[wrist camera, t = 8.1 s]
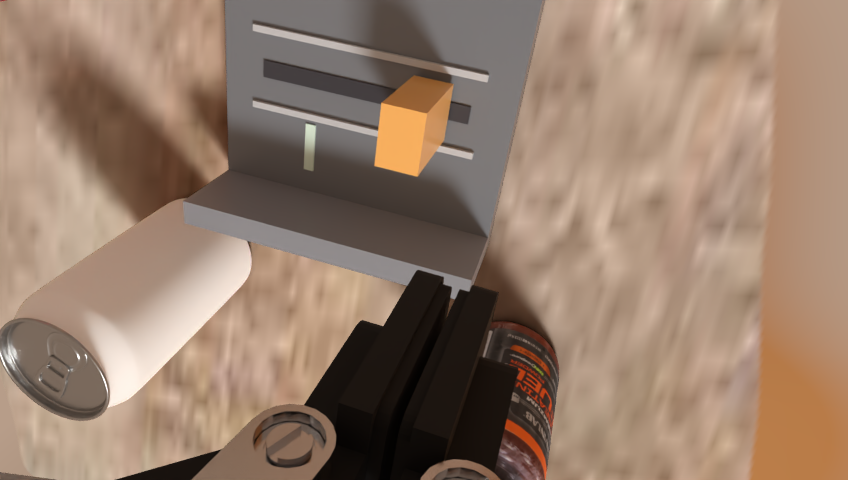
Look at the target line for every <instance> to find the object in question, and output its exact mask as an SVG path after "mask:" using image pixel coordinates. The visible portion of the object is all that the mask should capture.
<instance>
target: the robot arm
mask: <svg viewBox="0 0 848 480" xmlns="http://www.w3.org/2000/svg"><path fill="white" fill-rule="evenodd" d="M443 283H444V277H442V276H439V275H435V274H432V273H428V272H425V271H421V270H417V271H416V272H415V274H414V275H413V277H412V279H411V280H410V282H409V284H408V285H407V287H406V289H405V291H404V292H403V294H402V296H401V297H400V299H399V301H398V302H397V304H396V306H395V307H394V309H393V311H392V313H391V314H390V316H389V318H388V319H387V321H386V323H385V324H384V326H380V325H377V324H373V323H370V322H367V321H363V320H362V321H360V322H359V323H358V324H357V326H356V327H355V328H354V330H353V331H352V333H351V335H350V336H349V338H348V339H347V341H346V342H345V344H344V345H343V347H342V348H341V350H340V351H339V353H338V354H337V356H336V357H335V359H334V360H333V362H332V363H331V365H330V366H329V368H328V369H327V371H326V372H325V374H324V376H323V377H322V379H321V380H320V382H319V383H318V385H317V386H316V388H315V389H314V391H313V392H312V394H311V395H310V397H309V398H308V400H307V401H306V403H305V404H304V405H295V404H287V405H280V406H275V407H272V408H270V409H267V410H265V411H263V412H261V413H260V414H259V415H257V416H256V417H255V418H253V419H252V420H251V421H250V422H249V423H248V424H247V425H246V426H245V427H244V428H243V429H242V430H241V431H240V432H239V433H238V434H237V435H236V436H235V437H234V438H233V439H232V440H231V441H230V442H229V443H228V444H227V445H226V446H225V447H224V448H223V449H221V450H218V451H214V452H211V453H207V454H204V455H200V456H197V457H193V458H190V459H186V460H183V461H179V462H176V463H172V464H169V465H165V466H162V467H158V468H155V469H151V470H148V471H144V472H141V473H137V474H134V475H130V476H127V477H123V478H120V479H116V480H500V479H499V478H498V476H497V475H496V474H495V473H494V472H495V467H496V463H497V459H498V455H499V450H500V446H501V442H502V438H503V433H504V429H505V425H506V421H507V416H508V412H509V408H510V404H511V399H512V395H513V391H514V386H515V382H516V378H517V374H518V367H515V366H511V365H508V364H505V363H501V362H498V361H495V360H492V359H488V358H485V357H483V354H484V350H485V346H486V342H487V338H488V334H489V330H490V326H491V322H492V318H493V314H494V310H495V306H496V302H497V298H498V294H499V292H495V291H492V290H488V289H485V288H481V287H478V286H474V285H472V286H471V288H470V291H465V290H462V289H460V290H459V292H458V294H457V296H456V298H455V301H454V303H453V305H452V307H451V310H450V312H449V314H448V316H447V312H448V307H449V302H450V297H451V292H452V287H451V286H448V285H444V284H443ZM446 316H447V319H446ZM0 480H55V479H47V478H39V477H32V476H24V475H16V474H8V473H1V472H0Z"/></svg>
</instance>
